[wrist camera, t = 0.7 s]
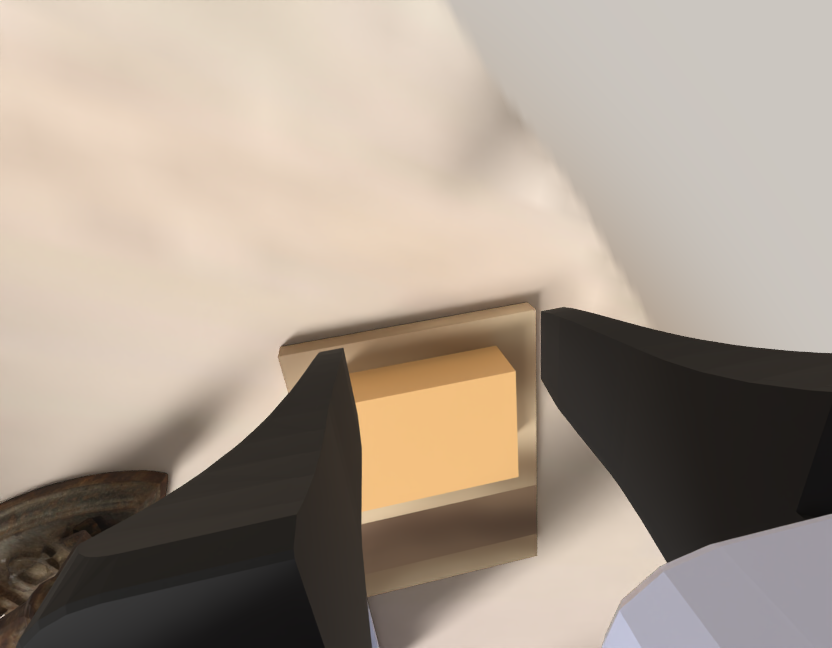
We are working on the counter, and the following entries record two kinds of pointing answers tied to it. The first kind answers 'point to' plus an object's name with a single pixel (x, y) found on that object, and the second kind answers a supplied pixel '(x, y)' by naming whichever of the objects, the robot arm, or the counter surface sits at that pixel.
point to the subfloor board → (459, 510)
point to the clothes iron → (60, 534)
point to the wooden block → (436, 426)
